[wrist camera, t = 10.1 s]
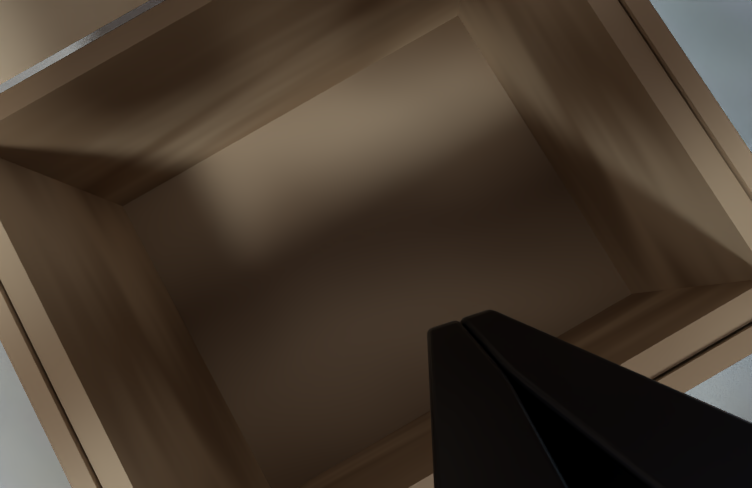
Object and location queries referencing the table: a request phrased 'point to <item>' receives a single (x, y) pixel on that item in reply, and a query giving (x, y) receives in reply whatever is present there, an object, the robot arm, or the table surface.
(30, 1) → the carton flap
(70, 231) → the carton
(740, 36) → the table surface
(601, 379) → the robot arm
